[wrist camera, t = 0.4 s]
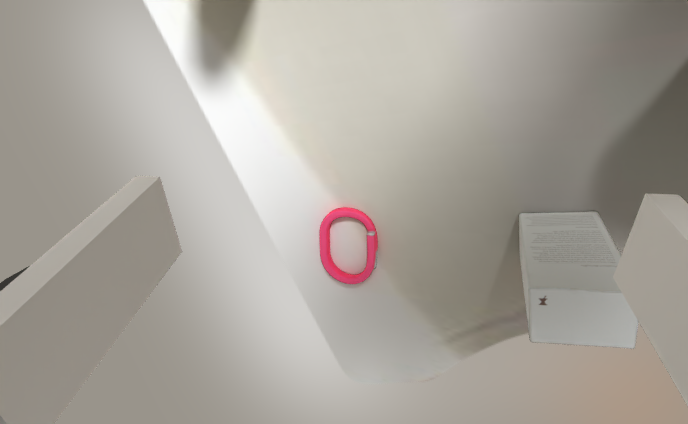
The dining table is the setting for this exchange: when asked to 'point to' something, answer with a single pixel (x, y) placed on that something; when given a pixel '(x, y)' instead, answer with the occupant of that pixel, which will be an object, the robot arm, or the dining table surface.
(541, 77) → the dining table surface
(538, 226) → the skincare box
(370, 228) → the fitness band
